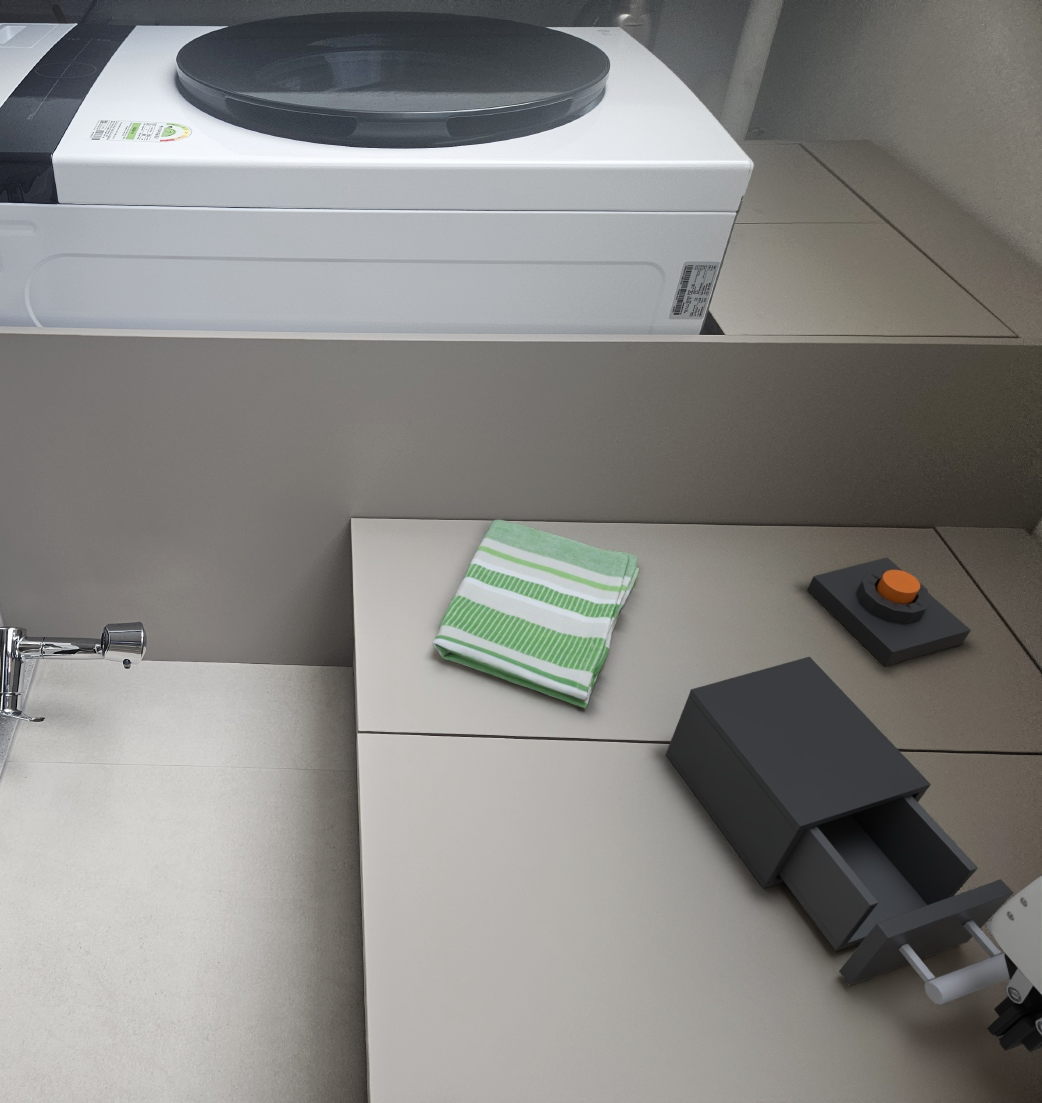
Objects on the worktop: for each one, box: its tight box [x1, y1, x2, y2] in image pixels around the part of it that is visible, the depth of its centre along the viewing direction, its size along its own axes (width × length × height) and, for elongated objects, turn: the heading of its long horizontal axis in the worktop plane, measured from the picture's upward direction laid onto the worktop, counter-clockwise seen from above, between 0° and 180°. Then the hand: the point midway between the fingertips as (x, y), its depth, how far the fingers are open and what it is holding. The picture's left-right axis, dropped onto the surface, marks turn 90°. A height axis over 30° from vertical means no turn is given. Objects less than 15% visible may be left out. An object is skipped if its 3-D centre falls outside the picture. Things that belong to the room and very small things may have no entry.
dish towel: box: [432, 519, 640, 709], centre depth 105 cm, size 18×23×3 cm
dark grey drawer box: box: [665, 656, 932, 889], centre depth 84 cm, size 15×13×10 cm
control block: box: [806, 556, 972, 667], centre depth 103 cm, size 12×10×4 cm
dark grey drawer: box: [778, 795, 1014, 1006], centre depth 76 cm, size 18×11×8 cm, turn 18°
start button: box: [877, 570, 921, 604], centre depth 102 cm, size 4×4×2 cm
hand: (1012, 1032), depth 67 cm, fingers closed
